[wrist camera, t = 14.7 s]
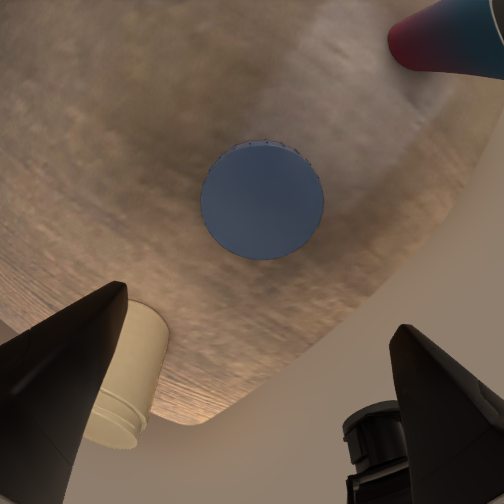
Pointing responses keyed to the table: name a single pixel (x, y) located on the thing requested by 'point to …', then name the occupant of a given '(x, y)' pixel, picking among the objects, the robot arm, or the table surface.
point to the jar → (130, 380)
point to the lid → (261, 200)
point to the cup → (453, 38)
